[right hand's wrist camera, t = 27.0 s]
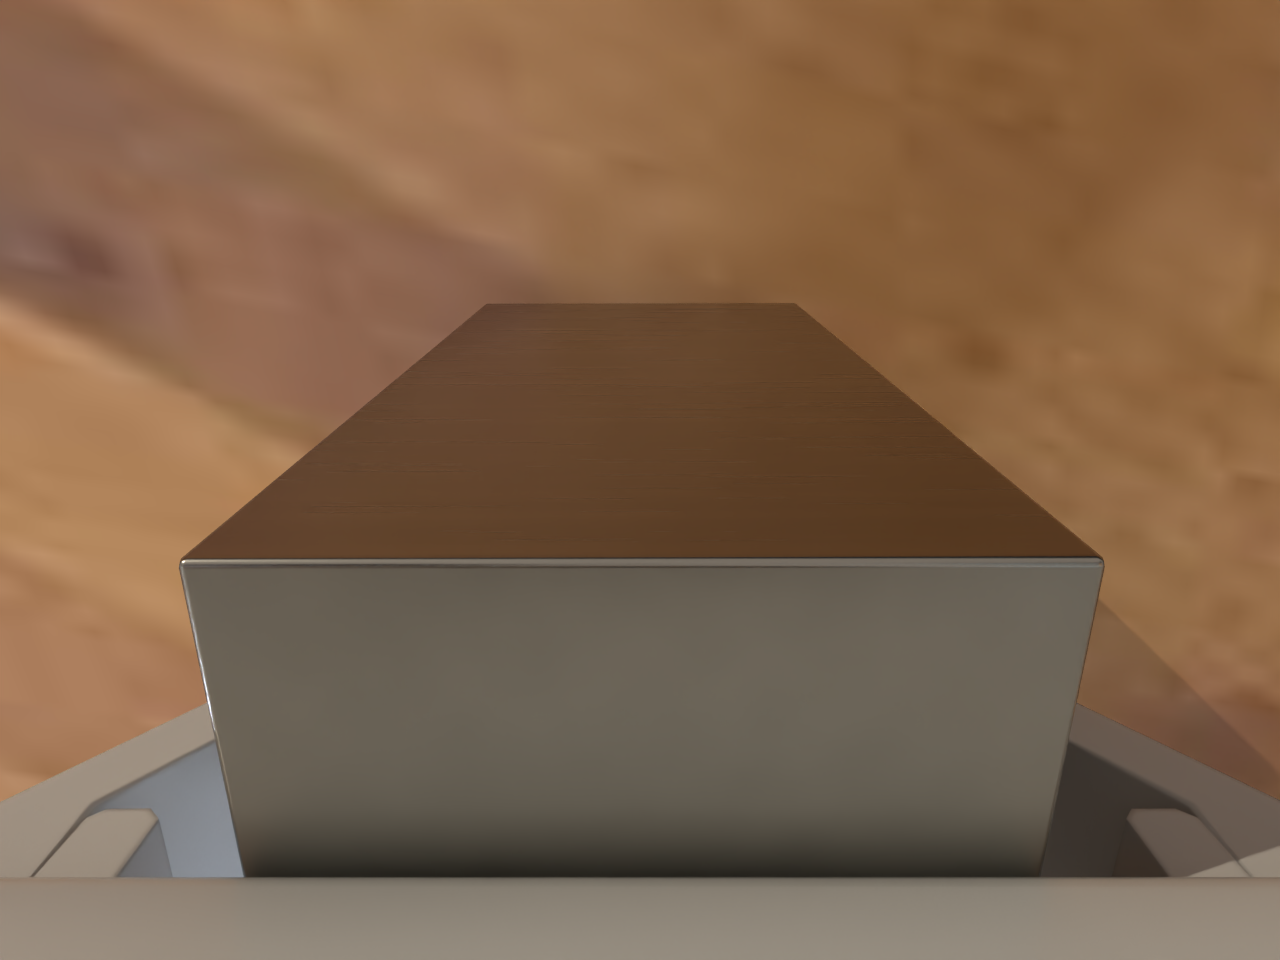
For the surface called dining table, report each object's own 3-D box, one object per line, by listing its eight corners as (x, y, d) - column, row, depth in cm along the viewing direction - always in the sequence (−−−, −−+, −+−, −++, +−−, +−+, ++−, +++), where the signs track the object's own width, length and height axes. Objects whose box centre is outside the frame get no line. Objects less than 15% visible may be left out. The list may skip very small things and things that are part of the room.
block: (796, 302, 14) (1111, 559, 5) (771, 718, 16) (935, 1401, 7) (485, 303, 14) (173, 558, 5) (511, 718, 16) (349, 1398, 7)
